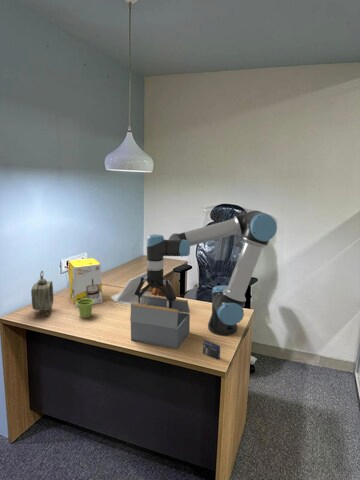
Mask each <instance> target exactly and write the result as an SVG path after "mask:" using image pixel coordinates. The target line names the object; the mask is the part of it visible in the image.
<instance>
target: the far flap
mask: <svg viewBox="0 0 360 480" xmlns="http://www.w3.org/2000/svg"><path fill="white" fill-rule="evenodd" d="M143 296H144V299H145V300H144V303H145V305H152V306H159V307H165V308H167V301H168V299H167V298H166V297H161V296H158V295H157V296H154V295H147V294H144V295H143ZM171 308H172V309H178V312H180V313H187V314H190V313H191V311H190V306H189V300H188V299H182V298H181V299H180V298H176V300H175V301H172V307H171Z"/></svg>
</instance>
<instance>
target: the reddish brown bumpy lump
mask: <svg viewBox="0 0 360 480" xmlns="http://www.w3.org/2000/svg"><path fill="white" fill-rule="evenodd" d="M163 285H164V286H165V289H166V290H167V287H166V285H165V283H163ZM167 291H168V290H167ZM151 292H152V295H154V296H161V297H165V295H164V294H163V293H162V291H161V290H159V288H158V289H156V288H152V291H151ZM168 293H169V292H168Z"/></svg>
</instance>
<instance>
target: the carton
mask: <svg viewBox="0 0 360 480" xmlns="http://www.w3.org/2000/svg"><path fill="white" fill-rule="evenodd" d="M190 317H191V314H190V313H185V312H179V311H178V325H177V329H175V328H169V327H163V326H158V325H152V324H146V323H140V322H134V321H130V340H131V342H132V341H133V342H139V343H141V344H142V343H143V344H149V345H154V346H159V347H165V348H168V349H169V348H170V349H174V350H178V349H179V348H180V346H181V345H182V343H183V342H184V340H185V339H186V338H187V336H188V335H189V334H190V331H191V330H190V327H191V326H190V322H191V319H190Z"/></svg>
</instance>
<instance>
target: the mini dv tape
mask: <svg viewBox="0 0 360 480" xmlns="http://www.w3.org/2000/svg"><path fill="white" fill-rule="evenodd" d="M202 354H203V355H205V356H207V357H210V358H213V359H215V360H220V359H221V345H218V344H216V343H214V342H211V341H208V340H206V339H205V340H203V341H202Z"/></svg>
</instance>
